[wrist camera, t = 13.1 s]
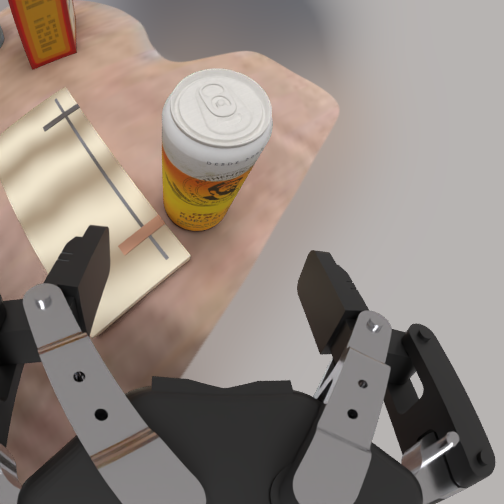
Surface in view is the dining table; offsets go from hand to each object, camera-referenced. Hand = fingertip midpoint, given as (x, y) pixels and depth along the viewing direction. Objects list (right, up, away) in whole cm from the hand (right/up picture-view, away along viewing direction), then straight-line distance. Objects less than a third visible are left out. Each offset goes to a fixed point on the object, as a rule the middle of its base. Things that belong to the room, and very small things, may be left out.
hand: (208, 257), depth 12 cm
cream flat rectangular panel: (-16, +5, +13) cm, 21 cm away
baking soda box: (-26, +29, +16) cm, 42 cm away
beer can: (-4, +5, +17) cm, 18 cm away
